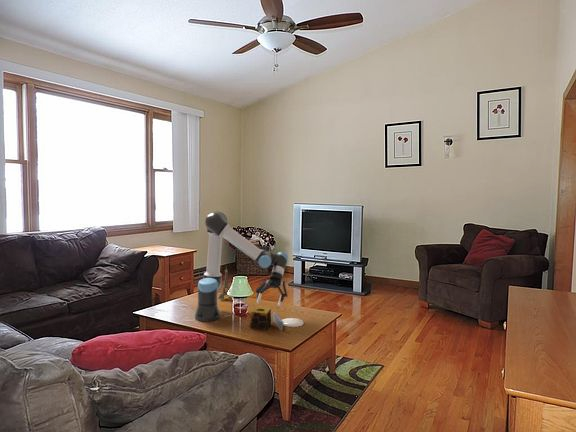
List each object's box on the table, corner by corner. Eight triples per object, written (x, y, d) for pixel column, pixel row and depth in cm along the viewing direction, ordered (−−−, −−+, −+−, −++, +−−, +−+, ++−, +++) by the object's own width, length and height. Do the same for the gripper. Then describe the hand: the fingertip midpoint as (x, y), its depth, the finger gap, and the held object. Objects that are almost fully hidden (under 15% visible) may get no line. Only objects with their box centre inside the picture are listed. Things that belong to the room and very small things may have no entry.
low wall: (280, 330, 227) (280, 322, 227) (273, 320, 244) (273, 312, 244) (282, 330, 227) (282, 321, 227) (275, 320, 245) (275, 312, 244)
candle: (267, 330, 227) (267, 313, 226) (250, 328, 229) (250, 311, 228) (271, 324, 237) (271, 308, 236) (255, 322, 239) (255, 306, 238)
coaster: (283, 327, 232) (283, 326, 232) (277, 319, 245) (277, 318, 245) (306, 326, 235) (306, 325, 235) (299, 318, 249) (299, 317, 249)
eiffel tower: (219, 301, 280) (220, 266, 279) (217, 297, 290) (217, 263, 288) (234, 300, 284) (235, 266, 282) (231, 296, 294) (232, 263, 292)
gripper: (297, 279, 250) (289, 310, 237) (260, 276, 258) (250, 305, 245) (294, 273, 245) (286, 303, 232) (257, 269, 253) (247, 299, 240)
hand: (267, 304), depth 238 cm, fingers open, 13 cm apart
